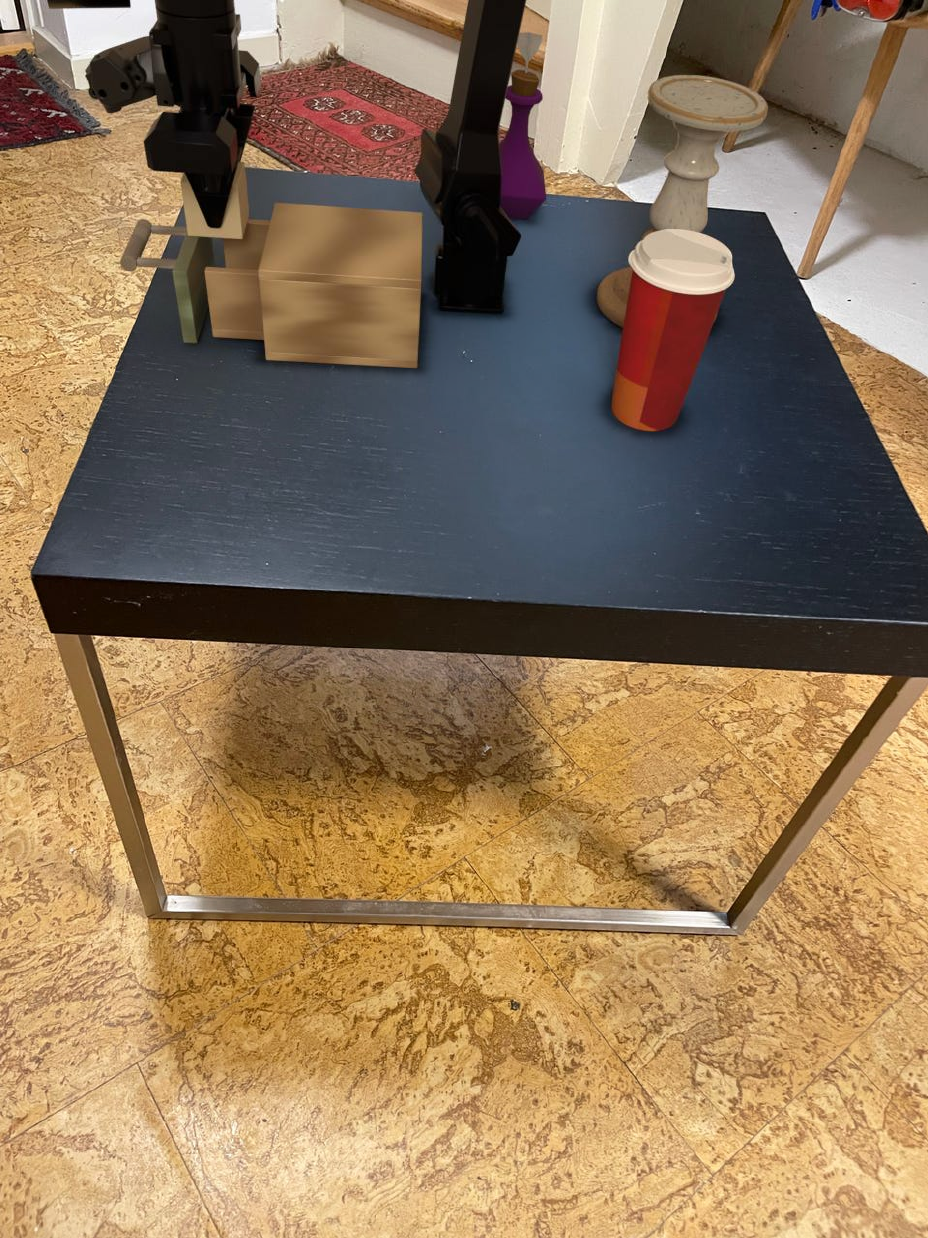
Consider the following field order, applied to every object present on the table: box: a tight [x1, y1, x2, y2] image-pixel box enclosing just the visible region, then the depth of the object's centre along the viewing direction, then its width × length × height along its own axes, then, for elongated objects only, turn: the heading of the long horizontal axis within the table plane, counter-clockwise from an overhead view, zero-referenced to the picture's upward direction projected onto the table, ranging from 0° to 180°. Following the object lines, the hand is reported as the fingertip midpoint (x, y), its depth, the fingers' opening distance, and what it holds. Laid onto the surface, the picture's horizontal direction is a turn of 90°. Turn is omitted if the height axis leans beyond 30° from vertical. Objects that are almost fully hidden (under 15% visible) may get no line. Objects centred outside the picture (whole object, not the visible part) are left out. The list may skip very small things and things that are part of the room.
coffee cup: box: [611, 229, 736, 432], centre depth 79 cm, size 8×8×15 cm
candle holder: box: [596, 74, 769, 329], centre depth 90 cm, size 12×12×20 cm
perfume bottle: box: [499, 31, 547, 220], centre depth 103 cm, size 8×8×18 cm
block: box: [180, 161, 250, 239], centre depth 81 cm, size 5×5×5 cm
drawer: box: [119, 218, 271, 344], centre depth 86 cm, size 17×11×7 cm, turn 91°
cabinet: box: [258, 202, 423, 369], centre depth 87 cm, size 14×13×9 cm
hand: (219, 213), depth 82 cm, fingers closed on block, 4 cm apart
